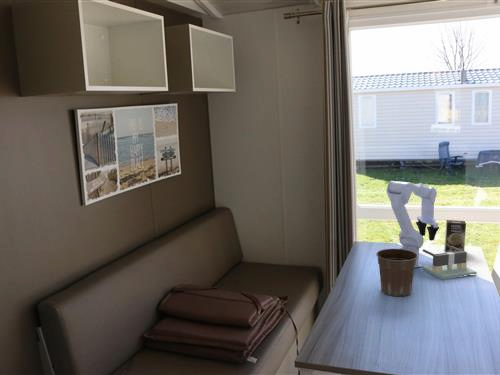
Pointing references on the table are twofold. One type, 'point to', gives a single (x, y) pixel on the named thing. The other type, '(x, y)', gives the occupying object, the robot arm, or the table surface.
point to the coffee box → (455, 235)
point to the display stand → (449, 270)
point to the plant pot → (396, 271)
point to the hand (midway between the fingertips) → (427, 238)
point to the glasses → (448, 257)
